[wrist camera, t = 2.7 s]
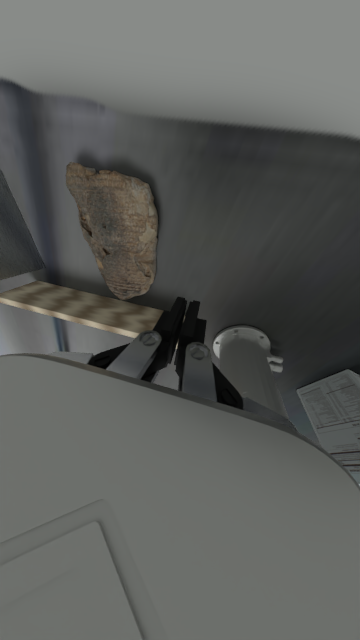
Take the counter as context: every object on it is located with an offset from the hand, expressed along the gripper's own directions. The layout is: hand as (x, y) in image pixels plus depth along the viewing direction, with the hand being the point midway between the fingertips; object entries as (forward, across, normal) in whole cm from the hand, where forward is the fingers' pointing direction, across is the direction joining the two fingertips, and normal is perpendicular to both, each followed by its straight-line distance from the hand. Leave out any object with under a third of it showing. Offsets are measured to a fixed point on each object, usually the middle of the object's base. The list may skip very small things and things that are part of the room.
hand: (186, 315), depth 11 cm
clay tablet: (+18, +15, 0) cm, 23 cm away
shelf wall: (+17, +21, +13) cm, 30 cm away
